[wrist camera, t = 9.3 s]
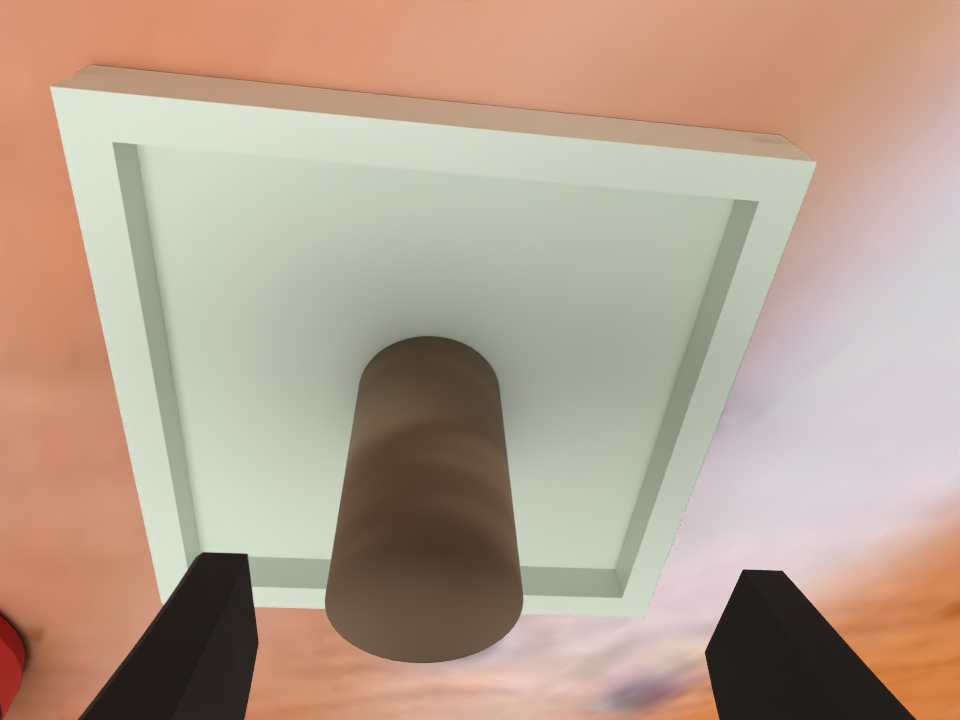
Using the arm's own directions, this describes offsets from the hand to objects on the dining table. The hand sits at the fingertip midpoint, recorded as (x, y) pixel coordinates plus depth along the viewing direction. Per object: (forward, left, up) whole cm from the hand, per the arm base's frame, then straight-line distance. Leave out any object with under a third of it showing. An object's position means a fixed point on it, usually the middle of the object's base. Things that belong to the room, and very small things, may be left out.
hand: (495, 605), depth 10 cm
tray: (+1, +3, -10) cm, 11 cm away
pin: (+1, +3, -10) cm, 10 cm away
